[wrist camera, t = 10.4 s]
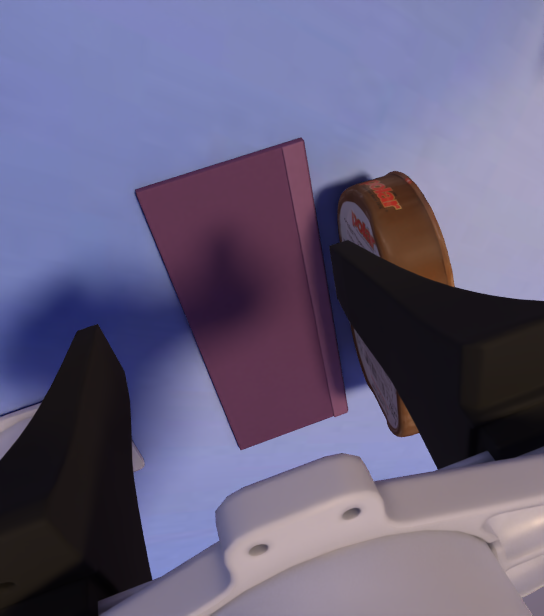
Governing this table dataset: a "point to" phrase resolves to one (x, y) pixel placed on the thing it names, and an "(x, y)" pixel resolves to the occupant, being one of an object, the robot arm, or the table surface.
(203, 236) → the purple rectangular board
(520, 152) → the table surface
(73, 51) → the table surface
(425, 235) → the tin
